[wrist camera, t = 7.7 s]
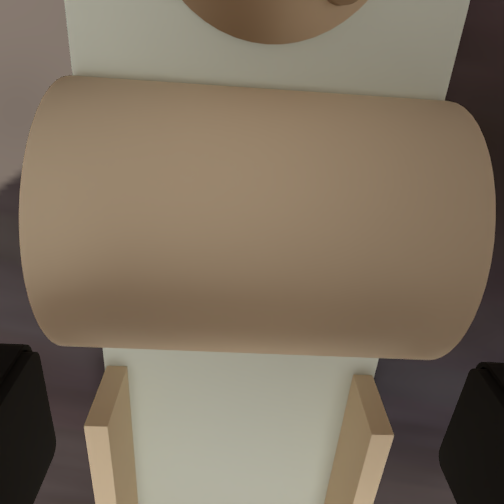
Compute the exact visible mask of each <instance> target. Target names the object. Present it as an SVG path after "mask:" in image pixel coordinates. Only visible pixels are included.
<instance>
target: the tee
mask: <svg viewBox="0 0 504 504" xmlns="http://www.w3.org/2000/svg"><path fill="white" fill-rule="evenodd" d="M182 1H183V2H184V3H185V4H186V5H187V6H188V7H189V8H190V9H191V10H192V11H193V12H194V13H196V14H197V15H198V16H199V17H200V18H202V19H203V20H204V21H205V22H207V23H208V24H210V25H212V26H213V27H215V28H216V29H218V30H220V31H222V32H224V33H226V34H228V35H231V36H233V37H235V38H238V39H242V40H245V41H249V42H254V43H261V44H288V43H295V42H300V41H303V40H307V39H310V38H314V37H316V36H318V35H321V34H323V33H325V32H327V31H329V30H331V29H333V28H334V27H336V26H338V25H339V24H341V23H342V22H344V21H345V20H347V19H348V18H349V17H350V16H352V15H353V14H354V13H355V12H357V11H358V10H359V9H360V8H361V7H362V6H363V5H364V4H365V3H366V2H367V1H368V0H182Z"/></svg>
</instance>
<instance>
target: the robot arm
mask: <svg viewBox="0 0 504 504" xmlns="http://www.w3.org/2000/svg"><path fill="white" fill-rule="evenodd" d="M55 447H56V437H55V432H54V427H53V422H52V417H51V412H50V407H49V401H48V396H47V391H46V386H45V381H44V376H43V371H42V366H41V360H40V356H39V354H38V353H37V352H32V350H31V347H30V346H29V345H23V344H0V504H33V503H34V501H35V498H36V496H37V494H38V491H39V489H40V487H41V484H42V482H43V480H44V477H45V475H46V473H47V470H48V468H49V466H50V463H51V461H52V459H53V456H54V452H55ZM439 462H440V466H441V469H442V471H443V473H444V475H445V478H446V480H447V482H448V484H449V487H450V489H451V491H452V493H453V496H454V498H455V500H456V502H457V504H504V363H493V362H481V363H479V364H478V365H477V367H476V369H471V370H470V372H469V374H468V376H467V379H466V382H465V384H464V387H463V389H462V392H461V395H460V397H459V400H458V403H457V405H456V408H455V410H454V413H453V416H452V418H451V421H450V424H449V426H448V429H447V431H446V434H445V437H444V439H443V442H442V444H441V447H440V450H439Z"/></svg>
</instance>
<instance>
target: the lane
mask: <svg viewBox="0 0 504 504" xmlns="http://www.w3.org/2000/svg"><path fill="white" fill-rule="evenodd" d="M64 3H65V13H66V22H67V31H68V40H69V48H70V58H71V67H72V75H69V76H63V77H61V78H59V79H57V80H56V81H55V82H54V83H53V84H52V85H51V86H50V87H49V89H48V90H47V91H46V93H45V95H44V96H43V98H42V100H41V102H40V104H39V106H38V108H37V110H36V113H35V116H34V119H33V122H32V125H31V128H30V132H29V136H28V140H27V144H26V149H25V154H24V160H23V166H22V174H21V184H20V197H19V241H20V252H21V263H22V269H23V275H24V282H25V286H26V290H27V294H28V299H29V302H30V305H31V308H32V311H33V314H34V316H35V318H36V320H37V322H38V325H39V327H40V328H41V330H42V331H43V333H44V334H45V336H46V337H47V338H48V339H49V340H50V341H52V342H53V343H55V344H57V345H59V346H74V347H100V348H103V356H104V365H105V372H104V375H103V377H102V380H101V383H100V385H99V388H98V390H97V393H96V396H95V398H94V401H93V403H92V406H91V409H90V411H89V414H88V416H87V419H86V422H85V424H84V431H85V437H86V444H87V451H88V457H89V464H90V470H91V477H92V484H93V490H94V497H95V504H373V503H374V499H375V496H376V493H377V490H378V486H379V483H380V480H381V477H382V473H383V470H384V467H385V464H386V460H387V457H388V454H389V450H390V447H391V444H392V441H393V437H394V433H393V431H392V428H391V425H390V422H389V420H388V417H387V414H386V412H385V409H384V406H383V403H382V401H381V398H380V395H379V392H378V390H377V387H376V384H375V381H374V376H375V372H376V368H377V364H378V360H379V358H388V359H414V360H434V359H437V358H441V357H442V356H444V355H446V354H447V353H449V352H450V351H451V350H452V349H453V348H454V347H455V346H456V345H457V344H458V343H459V342H460V340H461V339H462V338H463V336H464V335H465V334H466V332H467V330H468V328H469V327H470V325H471V323H472V321H473V319H474V317H475V315H476V312H477V310H478V308H479V305H480V303H481V300H482V297H483V293H484V290H485V287H486V284H487V279H488V275H489V270H490V266H491V261H492V254H493V247H494V239H495V223H496V196H495V185H494V175H493V170H492V164H491V159H490V155H489V151H488V148H487V145H486V141H485V138H484V136H483V134H482V132H481V130H480V127H479V125H478V124H477V122H476V121H475V119H474V118H473V116H472V115H471V114H470V113H469V112H468V111H467V110H466V109H465V108H464V107H463V106H461V105H459V104H458V103H455V102H451V101H445V97H446V93H447V89H448V85H449V82H450V78H451V74H452V70H453V66H454V62H455V58H456V54H457V50H458V46H459V42H460V38H461V34H462V31H463V27H464V23H465V19H466V15H467V11H468V7H469V3H470V0H368V1H367V2H366V3H365V4H364V5H363V6H362V7H361V8H360V9H359V10H358V11H357V12H355V13H354V14H353V15H352V16H350V17H349V18H348V19H347V20H345V21H344V22H342V23H341V24H339V25H338V26H336V27H334V28H333V29H331V30H329V31H327V32H325V33H323V34H321V35H318V36H316V37H314V38H310V39H307V40H303V41H300V42H295V43H288V44H261V43H254V42H249V41H245V40H242V39H238V38H235V37H233V36H231V35H228V34H226V33H224V32H222V31H220V30H218V29H216V28H215V27H213V26H212V25H210V24H208V23H207V22H205V21H204V20H203V19H202V18H200V17H199V16H198V15H197V14H196V13H194V12H193V11H192V10H191V9H190V8H189V7H188V6H187V5H186V4H185V3H184V2H183V1H182V0H64Z"/></svg>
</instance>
